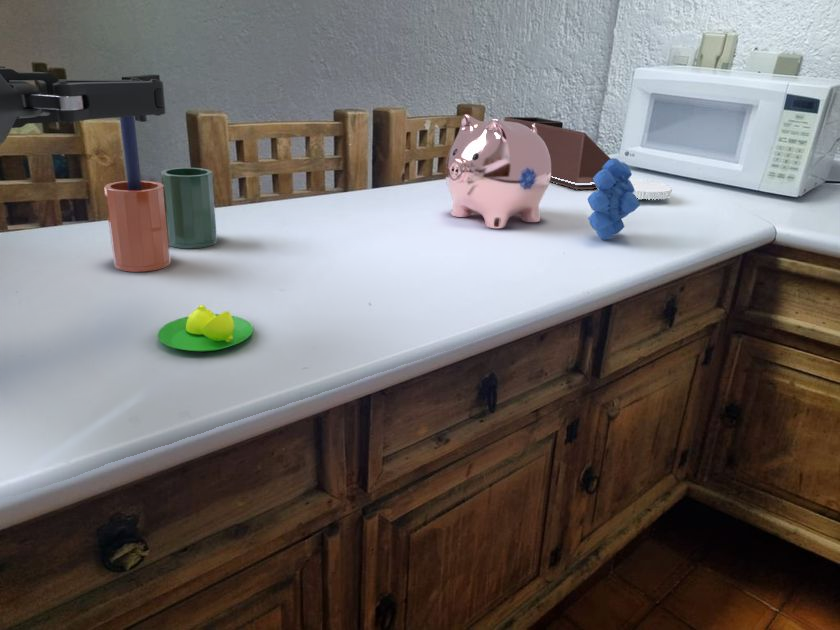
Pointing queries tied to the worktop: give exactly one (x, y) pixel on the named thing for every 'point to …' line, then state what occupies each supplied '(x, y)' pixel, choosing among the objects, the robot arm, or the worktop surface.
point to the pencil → (131, 153)
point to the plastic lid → (650, 189)
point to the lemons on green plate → (205, 331)
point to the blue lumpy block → (611, 198)
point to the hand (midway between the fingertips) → (80, 86)
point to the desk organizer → (567, 152)
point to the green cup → (190, 207)
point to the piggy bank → (497, 171)
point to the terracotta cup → (138, 226)
